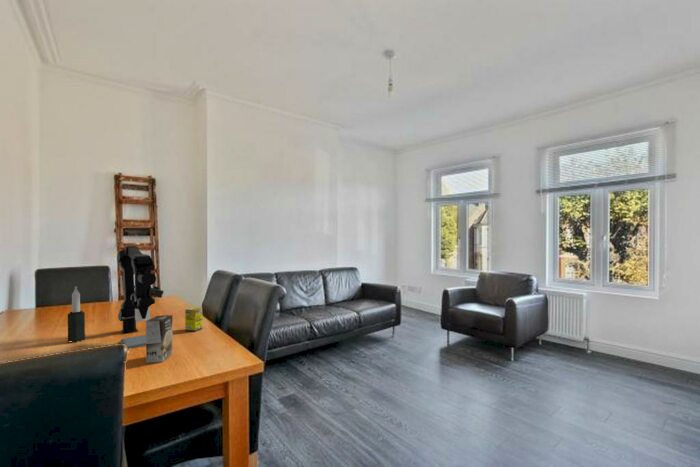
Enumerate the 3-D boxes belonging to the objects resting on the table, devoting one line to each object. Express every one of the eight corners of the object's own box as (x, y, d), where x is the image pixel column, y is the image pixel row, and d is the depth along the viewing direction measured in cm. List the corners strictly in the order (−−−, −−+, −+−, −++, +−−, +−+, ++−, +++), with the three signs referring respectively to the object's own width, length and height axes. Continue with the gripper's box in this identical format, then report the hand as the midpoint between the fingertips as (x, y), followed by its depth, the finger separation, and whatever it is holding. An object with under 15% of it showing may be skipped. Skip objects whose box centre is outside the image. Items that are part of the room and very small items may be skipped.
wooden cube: (135, 319, 160) (134, 308, 159) (147, 317, 163) (147, 307, 163) (137, 321, 156) (137, 310, 156) (150, 319, 159) (150, 309, 159)
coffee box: (163, 362, 134) (162, 320, 134) (145, 363, 134) (145, 321, 134) (173, 354, 144) (172, 314, 143) (156, 354, 143) (156, 315, 143)
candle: (86, 339, 163) (85, 285, 162) (74, 343, 158) (73, 287, 157) (78, 338, 164) (77, 285, 164) (66, 342, 159) (65, 287, 159)
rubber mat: (120, 341, 160) (120, 338, 160) (155, 335, 169) (155, 332, 169) (126, 349, 149) (126, 346, 149) (162, 342, 158) (162, 339, 158)
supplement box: (195, 331, 174) (195, 310, 174) (184, 331, 176) (184, 309, 176) (202, 328, 180) (202, 307, 180) (192, 328, 181) (192, 306, 181)
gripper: (167, 283, 158) (167, 318, 158) (156, 279, 171) (156, 311, 172) (139, 286, 150) (139, 322, 150) (130, 281, 164) (130, 315, 164)
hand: (142, 317), depth 159 cm, fingers closed on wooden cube, 5 cm apart
